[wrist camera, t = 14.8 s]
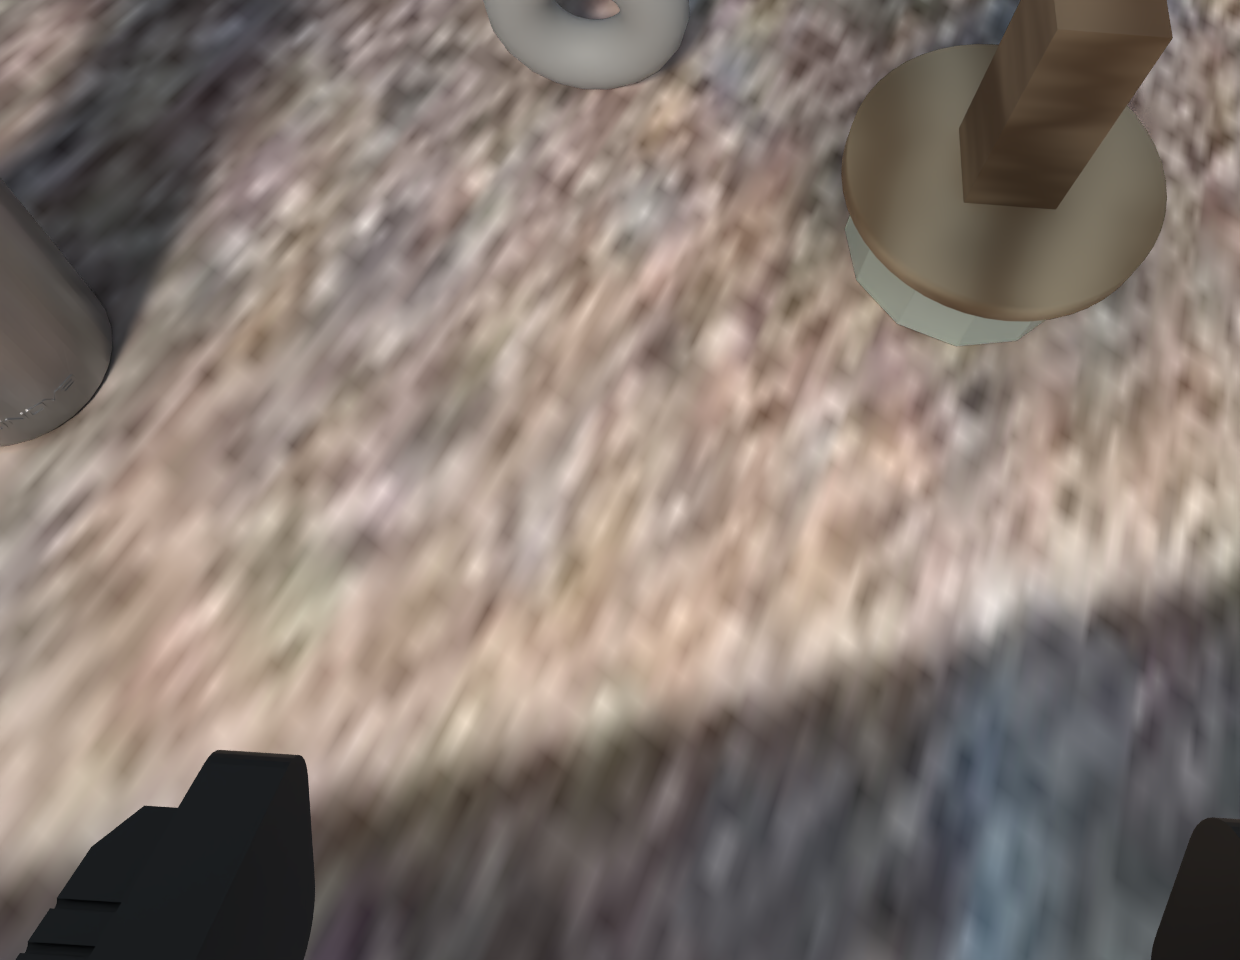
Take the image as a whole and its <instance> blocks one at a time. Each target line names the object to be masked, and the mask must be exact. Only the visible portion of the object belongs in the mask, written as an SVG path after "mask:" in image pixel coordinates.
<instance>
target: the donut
mask: <svg viewBox="0 0 1240 960" xmlns="http://www.w3.org/2000/svg"><path fill="white" fill-rule="evenodd" d="M483 1H484V4H485V8H486V11H487V14H488V17H489V20H490V23H491V26H492V29H493V31H494V32H495V34H496V35H497V37H498V38H499V39H500V41H501V42H502V43H503V45H504V46H505V48H506V49H507V50H508V52H509V53H510V54H512V55H513V56H514V57H515V58H517V59H518V60H519V61H520V62H522V63H523V64H524V65H525V66H527V67H528V68H529V69H530V70H532V71H533V72H535V73H537V74H539V75H541V76H543V77H545V78H548V79H550V80H552V81H554V82H556V83H559V84H563V85H568V86H572V87H576V88H580V89H613V88H617V87H622V86H626V85H630V84H635V83H638V82H640V81H641V80H643V79H645V78H647V77H649V76H650V75H652V74H654V73H656V72H658V71H659V70H660V69H661V68H662V67H663V66H664V65H665V64H666V62H667V61H668V60H669V59H670V58H671V57H672V56H673V54H674V53H675V52H676V51H677V50H678V49H679V47H680V44H681V42H682V39H683V36H684V33H685V30H686V27H687V24H688V21H689V18H690V13H689V0H612V1H614V2H615V3H616V4H617V5H618V7H619V9H620V12H619V13H618V14H616V15H614V16H613V17H609V18H606V19H602V20H590V19H586V18H582V17H578V16H575V15H573V14H571V13H569V12H567V11H565V10H564V9H563V8H562V7H561V6H560V5H559V4H557V2H556V1H555V0H483Z"/></svg>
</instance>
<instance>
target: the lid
mask: <svg viewBox="0 0 1240 960" xmlns="http://www.w3.org/2000/svg"><path fill="white" fill-rule="evenodd" d="M1172 38H1173V37H1172V31H1171V25H1170V19H1169V12H1168V6H1167V0H1021V1H1020V3H1019V5H1018V7H1017V9H1016V11H1015V13H1014V15H1013V17H1012V19H1011V21H1010V23H1009V25H1008V27H1007V30H1006V32H1005V34H1004V36H1003V38H1002V40H1001V42H1000V44H999V45H993V44H972V45H959V46H953V47H948V48H943V49H938V50H935V51H932V52H929V53H926V54H922V55H920V56H918V57H916V58H914V59H911V60H909V61H907V62H905V63H903V64H902V65H900V66H899V67H897V68H896V69H894V70H892V71H891V72H890V73H889V74H887V75H886V76H885V77H884V78H883V79H881V80H880V81H879V82H878V83H877V84H876V85H875V86H874V88H873V89H872V90H871V91H870V92H869V93H868V95H867V96H866V98H865V99H864V101H863V102H862V104H861V106H860V107H859V109H858V111H857V114H856V116H855V119H854V121H853V123H852V126H851V129H850V132H849V135H848V138H847V141H846V145H845V149H844V153H843V158H842V173H841V174H842V185H843V193H844V197H845V201H846V205H847V208H848V211H849V213H850V216H851V218H852V221H853V223H854V225H855V227H856V229H857V230H858V232H859V234H860V236H861V237H862V239H863V241H864V242H865V244H866V245H867V246H868V247H869V249H870V250H871V251H872V253H873V254H874V255H875V257H876V258H877V259H878V260H879V261H880V262H881V263H882V264H883V265H884V266H885V267H886V268H887V269H888V270H889V271H890V272H891V273H893V274H894V275H895V276H896V277H898V278H899V279H900V280H901V281H903V282H904V283H905V284H906V285H908V286H909V287H911V288H913V289H914V290H916V291H917V292H919V293H920V294H922V295H924V296H925V297H927V298H929V299H931V300H933V301H935V302H938V303H940V304H942V305H944V306H946V307H949V308H952V309H955V310H957V311H960V312H963V313H966V314H970V315H974V316H978V317H982V318H987V319H994V320H1002V321H1025V322H1029V321H1039V320H1049V319H1054V318H1058V317H1062V316H1067V315H1070V314H1073V313H1076V312H1078V311H1081V310H1084V309H1086V308H1089V307H1090V306H1092V305H1094V304H1096V303H1098V302H1100V301H1102V300H1103V299H1105V298H1106V297H1107V296H1109V295H1110V294H1111V293H1113V292H1114V291H1115V290H1117V289H1118V288H1119V287H1120V286H1121V285H1122V284H1123V283H1124V282H1125V281H1126V280H1127V279H1128V278H1129V277H1130V276H1131V275H1132V273H1133V272H1134V271H1135V270H1136V269H1137V268H1138V267H1139V265H1140V264H1141V263H1142V262H1143V261H1144V259H1145V258H1146V257H1147V255H1148V254H1149V252H1150V251H1151V249H1152V248H1153V246H1154V244H1155V242H1156V240H1157V238H1158V236H1159V234H1160V231H1161V228H1162V225H1163V221H1164V217H1165V212H1166V201H1167V193H1166V180H1165V175H1164V171H1163V166H1162V162H1161V160H1160V157H1159V155H1158V152H1157V149H1156V147H1155V145H1154V143H1153V141H1152V139H1151V138H1150V136H1149V134H1148V132H1147V130H1146V129H1145V127H1144V126H1143V125H1142V123H1141V122H1140V121H1139V119H1138V118H1137V116H1136V115H1135V114H1134V113H1133V112H1132V111H1131V109H1130V108H1129V107H1128V106H1127V104H1128V103H1129V101H1130V100H1131V98H1132V97H1133V96H1134V94H1135V93H1136V91H1137V90H1138V88H1139V87H1140V85H1141V84H1142V82H1143V81H1144V79H1145V78H1146V76H1147V75H1148V73H1149V72H1150V71H1151V69H1152V68H1153V66H1154V65H1155V63H1156V62H1157V60H1158V59H1159V57H1160V56H1161V54H1162V53H1163V51H1164V50H1165V48H1166V47H1167V46H1168V44H1169V43H1170V41H1171V40H1172Z"/></svg>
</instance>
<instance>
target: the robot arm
mask: <svg viewBox="0 0 1240 960" xmlns="http://www.w3.org/2000/svg"><path fill="white" fill-rule="evenodd" d="M112 346H113V345H112V329H111V325H110V322H109V319H108V316H107V313H106V310H105V309H104V307H103V306H102V304H101V303H100V301H99V300H98V298H97V297H96V296H95V294H94V293H93V292H92V291H91V289H90V288H89V287H88V286H87V284H86V283H85V282H84V281H83V279H82V278H81V277H80V276H79V275H78V273H77V272H76V271H75V270H74V268H73V267H72V266H71V265H70V263H69V262H68V261H67V260H66V258H65V257H64V256H63V255H62V253H61V252H60V250H59V249H58V248H57V247H56V245H55V244H54V243H53V242H52V241H51V239H50V238H49V237H48V236H47V234H46V233H45V232H44V231H43V229H42V228H41V227H40V226H39V225H38V223H37V222H36V221H35V220H34V218H33V217H32V216H31V215H30V213H29V212H28V211H27V210H26V209H25V207H24V206H23V205H22V204H21V202H20V201H19V200H18V199H17V197H16V196H15V195H14V194H13V193H12V191H11V190H10V189H9V188H8V186H7V185H6V184H5V183H4V181H3V180H2V179H1V178H0V446H10V445H14V444H18V443H21V442H25V441H29V440H32V439H35V438H37V437H39V436H41V435H43V434H45V433H48V432H50V431H52V430H54V429H55V428H57V427H58V426H60V425H61V424H63V423H64V422H66V421H67V420H68V419H70V418H71V417H73V416H74V415H75V414H76V413H77V412H78V411H79V410H80V409H81V408H82V407H83V406H84V405H85V404H86V403H87V402H88V401H89V400H90V398H91V397H92V396H93V394H94V393H95V391H96V390H97V388H98V387H99V385H100V384H101V382H102V380H103V378H104V375H105V373H106V371H107V368H108V366H109V362H110V357H111V351H112ZM314 901H315V878H314V862H313V847H312V832H311V816H310V801H309V785H308V773H307V767H306V763H305V760H304V758H303V757H302V756H300V755H289V754H274V753H258V752H243V751H228V750H217V751H215V752H213V753H212V754H211V755H210V756H209V757H208V759H207V760H206V762H205V763H204V765H203V767H202V768H201V770H200V772H199V773H198V775H197V777H196V778H195V780H194V782H193V783H192V785H191V787H190V788H189V790H188V792H187V793H186V795H185V797H184V799H183V800H182V802H181V804H180V805H179V807H178V808H171V807H156V806H143V807H142V808H141V809H139V810H138V811H137V812H136V813H134V814H133V815H132V816H131V817H129V818H128V819H127V820H125V821H124V822H123V823H122V824H120V825H119V826H118V827H116V828H115V829H114V830H113V831H111V832H110V833H109V834H107V835H106V836H105V837H104V838H102V839H101V840H100V841H99V842H97V843H96V844H95V845H93V846H92V847H91V848H90V850H89V851H88V853H87V854H86V856H85V857H84V859H83V860H82V862H81V863H80V865H79V866H78V868H77V869H76V871H75V872H74V874H73V875H72V877H71V878H70V880H69V881H68V883H67V884H66V886H65V887H64V889H63V890H62V891H61V893H60V894H59V896H58V897H57V904H56V907H55V909H49V911H48V912H47V914H46V915H45V917H44V918H43V920H42V921H41V923H40V924H39V926H38V927H37V929H36V930H35V932H34V933H33V935H32V936H31V938H30V939H29V941H28V947H27V950H26V952H25V953H20V954H19V955H18V957H17V958H16V960H303V959H304V956H305V953H306V949H307V945H308V941H309V937H310V932H311V926H312V920H313V912H314ZM1151 960H1240V819H1227V818H1207V819H1205V820H1203V821H1201V822H1200V823H1199V824H1198V825H1197V826H1196V828H1195V829H1194V831H1193V833H1192V835H1191V838H1190V840H1189V843H1188V846H1187V849H1186V852H1185V854H1184V857H1183V860H1182V863H1181V866H1180V869H1179V872H1178V874H1177V877H1176V880H1175V883H1174V886H1173V889H1172V891H1171V894H1170V897H1169V900H1168V903H1167V906H1166V908H1165V911H1164V914H1163V917H1162V920H1161V923H1160V926H1159V928H1158V931H1157V934H1156V937H1155V940H1154V944H1153V948H1152V955H1151Z"/></svg>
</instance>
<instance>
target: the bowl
mask: <svg viewBox="0 0 1240 960" xmlns="http://www.w3.org/2000/svg"><path fill="white" fill-rule="evenodd" d="M845 232H846V236H847V240H848V245H849V249H850V254H851V258H852V262H853V267H854V271H855V276H856V280H857V281H858V282H859V283H860V285H861V286H862V287H863V288H864V289H865V290H866V291H867V292H868V293H869V294H870V295H871V296H872V297H873V298H874V299H875V301H876V302H877V303H878V304H879V305H880V306H881V307H882V308H883V309H884V310H885V311H886V312H887V313H888V314H889V315H890V317H891V318H892V319H893V320H894V321H895V322H896V323H897V324H899V325H902V326H905V327H907V328H910V329H912V330H915V331H918V332H920V333H923V334H926V335H928V336H931V337H933V338H936V339H939V340H941V341H944V342H946V343H949V344H952V345H954V346H964V345H976V344H987V343H998V342H1010V341H1017V340H1018V339H1020V338H1021V337H1022V336H1024V335H1025V334H1027V333H1028V332H1029V331H1031V330H1032V329H1034V328H1035V327H1036V326H1038V325H1039V324H1041V323H1042V322H1043V321H1045V320H1039V321H1029V322H1025V321H1002V320H994V319H987V318H982V317H978V316H974V315H970V314H966V313H963V312H960V311H957V310H955V309H952V308H949V307H946V306H944V305H942V304H940V303H938V302H935V301H933V300H931V299H929V298H927V297H925V296H924V295H922V294H920V293H919V292H917V291H916V290H914V289H913V288H911V287H909V286H908V285H906V284H905V283H904V282H903V281H901V280H900V279H899V278H898V277H896V276H895V275H894V274H893V273H891V272H890V271H889V270H888V269H887V268H886V267H885V266H884V265H883V264H882V263H881V262H880V261H879V260H878V259H877V258H876V257H875V255H874V254H873V253H872V251H871V250H870V249H869V247H868V246H867V245H866V244H865V242H864V241H863V239H862V237H861V236H860V234H859V232H858V230H857V229H856V227H855V225H854V223H853V221H852V218H851V216H850V217H849V219H848V222H847V225H846V227H845Z"/></svg>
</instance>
